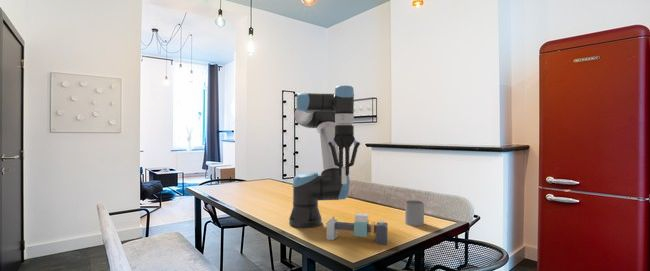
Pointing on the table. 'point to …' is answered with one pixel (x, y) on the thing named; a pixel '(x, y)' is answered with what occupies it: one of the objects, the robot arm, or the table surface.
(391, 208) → the table surface
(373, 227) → the slider rail
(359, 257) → the table surface
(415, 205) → the cup
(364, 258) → the table surface
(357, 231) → the sleeve
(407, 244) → the table surface
